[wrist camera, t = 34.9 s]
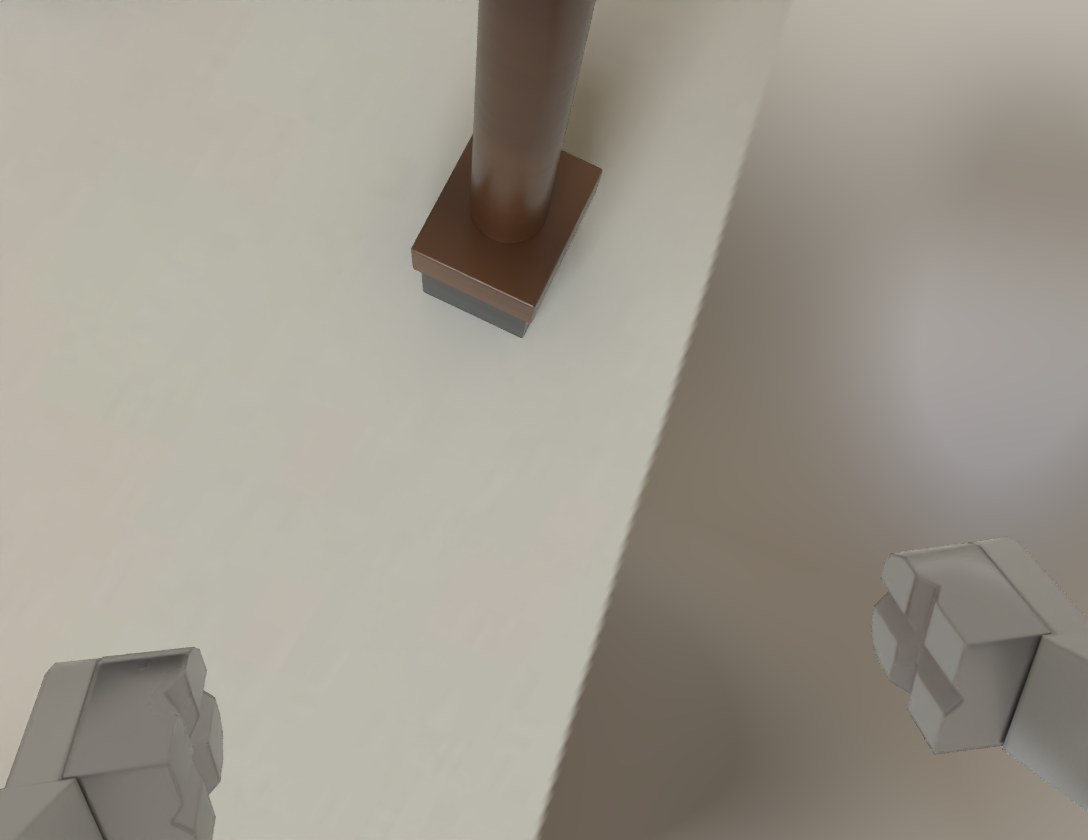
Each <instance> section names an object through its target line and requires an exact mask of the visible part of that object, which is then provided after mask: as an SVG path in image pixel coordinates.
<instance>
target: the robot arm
mask: <svg viewBox="0 0 1088 840" xmlns="http://www.w3.org/2000/svg"><path fill="white" fill-rule="evenodd" d="M881 580H882V581H883V583H884V585H885V586H886V588H887V589H888V592H887V593H886V594H885V595H884V597H882V598H881V599H880V600H879V601H878V602H877V604H876V605H875V606H874V611H873V617H872V623H871V630H872V638H873V646H874V650H875V653H876V655H877V658H878V661H879V664H880V666H881V667H882V669H883V671H884V672H885V674H886V676H887V678H888V679H889V681H890V682H892V683H894V684H895V685H897V686H899V687H900V688H902V689H904V690H905V691H907V692H908V693H910V698H909V703H908V707H907V711H908V713H909V714H910V716H911V717H912V719H913V721H914V723H915V724H916V726H917V727H918V729H919V730H920V732H921V734H922V736H923V737H924V739H925V740H926V742H927V744H928V745H929V747H930V749H931V750H932V752H933V754H942V753H950V752H958V751H966V750H973V749H981V748H988V747H996V746H1003V748H1002V750H1004V751H1005V752H1006V753H1008V754H1009V755H1011V756H1012V757H1013V758H1015V759H1016V760H1018V761H1019V762H1020V763H1021V764H1023V765H1024V766H1026V767H1027V768H1028V769H1030V770H1031V771H1033V772H1034V773H1035V774H1037V775H1038V776H1039V777H1041V778H1042V779H1043V780H1045V781H1046V782H1047V783H1049V784H1050V785H1052V786H1053V787H1054V788H1056V789H1057V790H1058V791H1060V792H1061V793H1063V794H1064V795H1065V796H1067V797H1068V798H1069V799H1071V800H1072V801H1074V802H1075V803H1076V804H1077V805H1079V806H1080V807H1082V808H1083V809H1084V810H1086V811H1087V812H1088V618H1087V617H1086V616H1085V615H1084V614H1083V613H1082V612H1081V610H1080V609H1079V608H1078V607H1077V606H1076V605H1075V604H1074V603H1073V601H1071V599H1070V598H1069V597H1068V596H1067V595H1066V594H1065V593H1064V591H1063V590H1062V589H1061V588H1060V587H1059V586H1058V585H1057V584H1056V583H1055V582H1054V580H1053V579H1052V578H1051V577H1050V576H1049V575H1048V574H1047V573H1046V571H1045V570H1044V569H1043V568H1042V567H1041V566H1040V565H1039V564H1038V562H1036V560H1035V559H1034V558H1033V557H1032V556H1031V555H1030V554H1029V552H1028V551H1027V550H1026V549H1025V548H1024V547H1023V546H1022V545H1021V544H1020V543H1019V542H1018V541H1016V540H1014V539H1012V538H1010V537H1001V538H994V539H987V540H980V541H974V542H969V543H967V544H966V543H961V544H954V545H947V546H940V547H933V548H926V549H919V550H912V551H905V552H898V553H892V554H890V555H889V557H888V558H887V559H886V561H885V562H884V566H883V570H882V574H881ZM206 672H207V670H206V667H205V664H204V661H203V658H202V655H201V653H200V650H199V649H197V648H195V647H188V648H179V649H170V650H161V651H152V652H143V653H134V654H125V655H115V656H106V657H102V658H98V659H89V660H79V661H69V662H60V663H55V664H54V665H53V666H52V667H51V668H50V669H49V670H48V672H47V673H46V674H45V676H44V679H43V681H42V684H41V687H40V690H39V693H38V695H37V698H36V701H35V704H34V707H33V709H32V712H31V715H30V718H29V721H28V723H27V726H26V729H25V732H24V735H23V737H22V740H21V743H20V746H19V749H18V752H17V754H16V757H15V760H14V763H13V766H12V768H11V771H10V774H9V777H8V780H7V782H6V785H5V788H4V789H0V840H212V838H213V831H214V824H215V817H216V816H215V813H214V810H213V807H212V804H211V801H210V798H209V794H210V793H211V792H212V791H213V789H214V788H215V787H216V786H217V785H218V784H219V782H220V780H221V772H222V763H223V731H222V725H221V718H220V713H219V709H218V706H217V702H216V699H215V697H213V696H212V695H210V694H209V693H207V692H205V691H204V684H205V678H206Z"/></svg>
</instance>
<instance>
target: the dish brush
mask: <svg viewBox="0 0 1088 840" xmlns="http://www.w3.org/2000/svg"><path fill="white" fill-rule="evenodd" d="M595 1H596V0H479V10H478V33H477V56H476V79H475V102H474V125H473V135H472V136H471V138H470V140H469V142H468V144H467V146H466V148H465V149H464V151H463V153H462V155H461V157H460V159H459V161H458V162H457V164H456V166H455V168H454V170H453V172H452V174H451V175H450V177H449V179H448V181H447V183H446V185H445V187H444V189H443V190H442V192H441V194H440V196H439V198H438V200H437V202H436V203H435V205H434V207H433V209H432V211H431V213H430V215H429V216H428V218H427V220H426V222H425V224H424V226H423V228H422V229H421V231H420V233H419V235H418V237H417V239H416V241H415V243H414V244H413V246H412V248H411V253H412V263H413V268H414V269H415V270H417V271H420V272H422V282H423V291H424V292H425V293H427V294H429V295H432V296H434V297H436V298H438V299H440V300H442V301H444V302H446V303H448V304H451V305H453V306H455V307H457V308H459V309H461V310H463V311H465V312H468V313H470V314H472V315H474V316H476V317H478V318H480V319H482V320H484V321H487V322H489V323H491V324H493V325H495V326H497V327H499V328H501V329H503V330H506V331H508V332H510V333H512V334H514V335H516V336H518V337H520V338H522V337H523V336H524V334H525V332H526V330H527V328H528V326H529V324H530V323H531V322H532V320H533V318H534V316H535V314H536V312H537V310H538V308H539V306H540V304H541V302H542V300H543V298H544V296H545V294H546V292H547V290H548V288H549V286H550V284H551V282H552V280H553V278H554V276H555V274H556V272H557V269H558V267H559V265H560V263H561V261H562V259H563V257H564V255H565V253H566V251H567V249H568V247H569V245H570V243H571V241H572V239H573V237H574V235H575V233H576V231H577V229H578V227H579V225H580V223H581V221H582V219H583V217H584V215H585V213H586V211H587V209H588V206H589V204H590V202H591V200H592V198H593V196H594V194H595V192H596V189H597V186H598V183H599V180H600V177H601V174H602V169H601V168H599V167H596V166H594V165H592V164H590V163H588V162H586V161H584V160H582V159H579V158H577V157H575V156H573V155H571V154H569V153H567V152H565V151H562V146H563V142H564V137H565V133H566V129H567V124H568V120H569V115H570V111H571V107H572V102H573V98H574V93H575V89H576V85H577V80H578V76H579V72H580V67H581V63H582V58H583V54H584V50H585V45H586V41H587V36H588V32H589V28H590V23H591V19H592V14H593V10H594V6H595Z"/></svg>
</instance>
